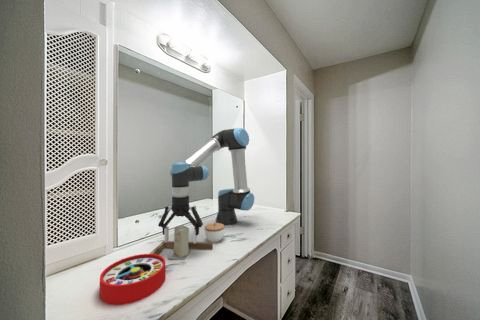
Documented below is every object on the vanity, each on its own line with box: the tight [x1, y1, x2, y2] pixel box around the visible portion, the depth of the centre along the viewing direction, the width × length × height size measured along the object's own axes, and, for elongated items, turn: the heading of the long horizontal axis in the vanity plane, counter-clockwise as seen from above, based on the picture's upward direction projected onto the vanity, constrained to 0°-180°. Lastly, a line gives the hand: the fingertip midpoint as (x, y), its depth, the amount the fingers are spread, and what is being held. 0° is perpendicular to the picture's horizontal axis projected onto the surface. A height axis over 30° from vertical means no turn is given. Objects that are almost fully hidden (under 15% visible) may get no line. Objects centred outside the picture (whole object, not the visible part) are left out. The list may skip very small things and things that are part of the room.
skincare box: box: [173, 224, 190, 257], centre depth 87 cm, size 6×4×12 cm
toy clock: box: [99, 253, 167, 306], centre depth 67 cm, size 20×6×20 cm
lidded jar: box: [204, 222, 226, 243], centre depth 103 cm, size 11×11×9 cm
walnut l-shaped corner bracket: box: [148, 240, 214, 261], centre depth 86 cm, size 16×25×3 cm, turn 86°
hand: (180, 241), depth 87 cm, fingers open, 13 cm apart
